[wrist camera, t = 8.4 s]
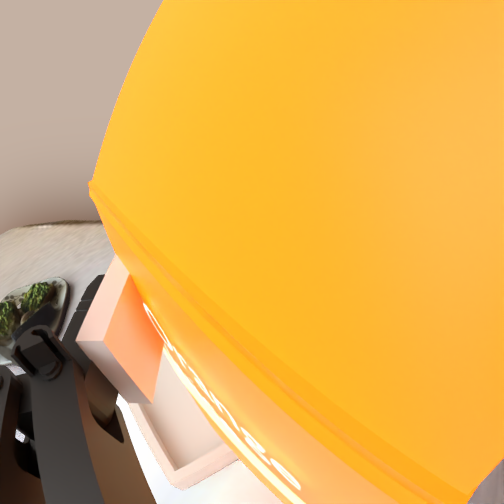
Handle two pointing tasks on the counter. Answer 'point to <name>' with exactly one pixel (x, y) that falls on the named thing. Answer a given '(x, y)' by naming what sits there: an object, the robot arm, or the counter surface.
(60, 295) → the salad plate
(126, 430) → the robot arm
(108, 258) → the counter surface
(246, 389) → the orange juice
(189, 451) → the tray
